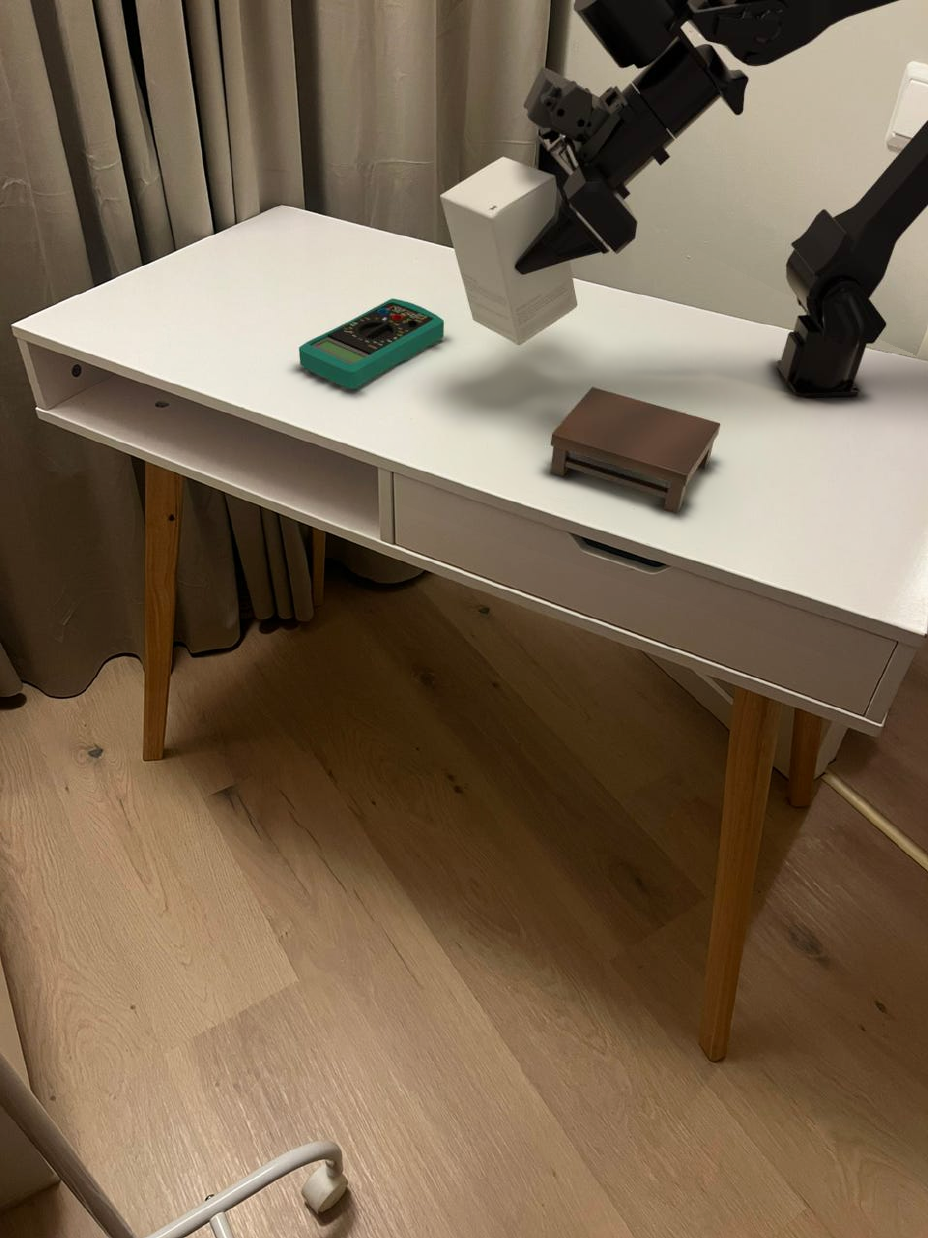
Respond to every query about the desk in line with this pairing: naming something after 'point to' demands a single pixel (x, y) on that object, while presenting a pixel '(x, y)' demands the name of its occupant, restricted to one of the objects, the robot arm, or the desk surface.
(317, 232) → the desk surface
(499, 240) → the white packaging box
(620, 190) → the robot arm
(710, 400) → the desk surface
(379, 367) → the digital multimeter
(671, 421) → the small table
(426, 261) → the desk surface
